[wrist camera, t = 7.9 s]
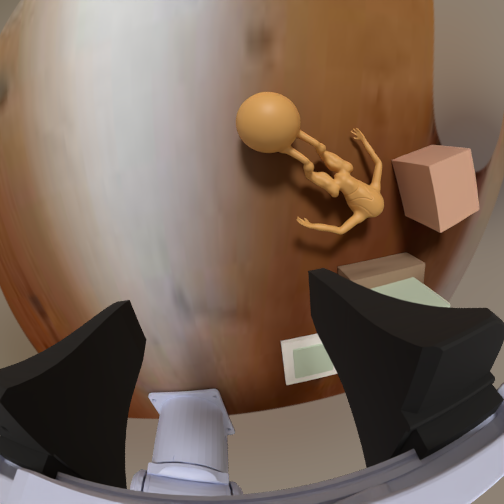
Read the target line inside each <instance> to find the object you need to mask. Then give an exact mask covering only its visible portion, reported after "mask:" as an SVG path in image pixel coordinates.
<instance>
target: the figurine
mask: <svg viewBox="0 0 504 504" xmlns="http://www.w3.org/2000/svg"><path fill="white" fill-rule="evenodd" d="M236 128H237V131H238V134H239V136H240V138H241V139H242V141H243V142H244V143H245V144H246V145H247V146H249V147H250V148H252V149H254V150H256V151H259V152H263V153H274V152H280V153H286V154H288V155H290V156H292V157H294V158H295V159H297V160H299V161H300V162H302V163H304V166H303V169H304V173H305V176H306V178H307V179H308V180H310V181H312V182H313V183H314V184H316V185H318V186H320V187H322V188H323V189H325V190H326V191H327V192H328V193H329V194H330V195H331V196H332V197H337V196H338V195H339V190H340V191H341V192H342V193H343V194H344V197H345V199H346V202H347V204H348V206H349V207H350V209H351V210H352V211H353V213H354V214H353V216H352V217H350V218H349V219H348V220H347V221H346V222H345V223H344V224H343V225H342V226H341V227H336V226H330V225H326V224H311V223H309V221H308V220H307V219H306V218H304V219H305V221H304V220H302V219H300V218H299V217H297V218H298V219H299V220H298V219H297V221H298V222H299V223H300V224H301V225H303V226H305V227H308V228H311V229H316V230H320V231H328V232H333V233H336V234H344V233H346V232H347V231H349V230H350V229H351V228H353V227H354V226H355V225H356V224H358V223H361V222H362V221H364V220H365V219H366V218H368V217H376V216H378V215H379V214H380V213H381V212H382V211H383V208H384V201H383V198H382V196H381V194H380V189H381V187H380V180H381V174H382V162H381V160H380V159H379V158H378V156H377V155H376V154H375V152H374V150H373V149H372V147H371V146H370V144H369V143H368V142H367V140H366V139H365V137H364V135H363V134H362V133H361V132H360V131H359V130H358V129H357V128H356V129H357V130H358V131H356V130H355V129H353V130H354V131H355V132H356V133H354V132H352V131H351V132H352V133H353V134H354V135H356V136H357V138H354V139H356V140H361V141H362V142H363V145H364V147H365V149H366V150H367V152H368V153H369V155H370V156H371V158H372V160H373V162H374V163H375V169H374V173H373V177H372V182H371V184H370V185H367V184H365V183H363V182H361V181H359V180H357V179H355V178H354V177H352V176H351V175H350V173H351V172H352V171H353V166H352V165H351V164H350V163H349V162H347V161H344V160H343V159H341V158H340V157H338V156H337V155H335V154H334V153H331V152H328V151H326V147H325V145H324V144H322V143H319V142H318V141H317V140H315V139H314V138H312V137H311V136H309V135H307V134H306V133H304V132H303V131H301V130H300V116H299V113H298V110H297V108H296V107H295V105H294V104H293V103H292V102H291V101H290V100H289V99H288V98H286V97H285V96H283V95H281V94H278V93H274V92H262V93H258V94H255V95H253V96H251V97H249V98H248V99H247V100H246V101H245V102H244V103H243V104H242V105H241V107H240V108H239V110H238V113H237V117H236ZM296 138H299V139H301V140H303V141H305V142H307V143H309V144H310V145H312V146H315V147H316V152H317V153H318V155H319V157H320V158H321V159H322V160H323V161H324V163H325V165H326V166H327V168H328V169H329V170H331V171H333V172H337V173H336V174H335V175H334V179H332V178H331V177H330V176H329V175H328V174H327V173H325V172H313V170H314V165H313V163H312V162H310V161H309V159H308V158H306V157H305V156H304V155H302V154H301V153H299V152H298V151H297V150H295V149H294V148H292V147H291V144H292V143H293V142H294V140H295V139H296Z"/></svg>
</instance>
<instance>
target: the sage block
mask: <svg viewBox="0 0 504 504" xmlns="http://www.w3.org/2000/svg"><path fill="white" fill-rule="evenodd" d="M371 290H374V291H376V292H379V293H382V294H384V295H387V296H391V297H394V298H398V299H401V300H405V301H409V302H413V303H419V304H424V305H430V306H437V307H448V308H450V303H449V302H447V301H446V300H445V299H443V298H442V297H441V296H439V295H438V294H437V293H435V292H434V291H432V290H431V289H430V288H428V287H427V286H426V285H424V284H423V283H421V282H420V281H419V280H417V279H416V278H414V277H412V278H408V279H405V280H401V281H398V282H394V283H390V284H387V285H383V286H379V287H375V288H372V289H371Z"/></svg>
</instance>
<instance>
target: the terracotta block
mask: <svg viewBox="0 0 504 504" xmlns="http://www.w3.org/2000/svg"><path fill="white" fill-rule="evenodd" d="M391 161H392V165H393V168H394V172H395V175H396V179H397V183H398V187H399V191H400V195H401V199H402V204H403V208H404V213H405V216H407V217H409V218H411V219H413V220H415V221H417V222H419V223H422V224H424V225H426V226H428V227H430V228H432V229H434V230H436V231H438V232H440V233H441V232H443V231H445V230H446V229H448V228H450V227H451V226H453V225H455V224H457V223H458V222H460V221H462V220H463V219H465V218H466V217H468V216H470V215H471V214H473V213H475V212H476V211H478V210H479V202H478V193H477V185H476V178H475V171H474V166H473V160H472V155H471V150H470V149H468V148H460V147H450V146H440V145H430V146H428V147H425V148H422V149H420V150H417V151H414V152H412V153H409V154H406V155H404V156H401V157H398V158H396V159H393V160H391Z"/></svg>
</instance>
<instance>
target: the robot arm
mask: <svg viewBox="0 0 504 504" xmlns="http://www.w3.org/2000/svg"><path fill="white" fill-rule="evenodd" d="M308 273H309V288H310V305H311V316H312V319H313V322H314V325H315V328H316V331H317V334H318V336H319V338H320V340H321V342H322V344H323V346H324V348H325V350H326V352H327V354H328V356H329V358H330V360H331V362H332V364H333V366H334V367H335V369H336V371H337V373H338V375H339V378H340V380H341V382H342V384H343V387H344V390H345V393H346V396H347V399H348V402H349V405H350V408H351V411H352V413H353V417H354V420H355V424H356V427H357V431H358V434H359V438H360V442H361V445H362V449H363V453H364V458H365V462H366V467H367V468H365V469H363V470H359V471H357V472H353V473H351V474H347V475H344V476H340V477H337V478H333V479H330V480H326V481H322V482H318V483H313V484H309V485H304V486H300V487H294V488H288V489H283V490H277V491H269V492H262V493H252V494H243V491H242V489H241V488H240V487H239V486H238V485H237V483H235V482H230V481H229V474H228V444H227V435H232V434H235V430H234V428H233V425H232V423H231V420H230V418H229V416H228V413H227V411H226V408H225V406H224V403H223V401H222V398H221V396H220V393H219V391H218V390H217V389H206V390H195V391H180V392H159V393H149V396H148V397H149V399H150V400H151V402H152V404H153V405H154V407H155V408H156V410H157V411H158V413H159V414H160V417H159V422H158V428H157V433H156V439H155V445H154V451H153V457H152V463H148V470H143V469H141V470H139V471H138V472H137V473H135V474H134V476H133V479H132V482H131V487H130V490H128V489H127V486H126V474H125V439H126V427H127V419H128V412H129V407H130V402H131V399H132V395H133V392H134V388H135V385H136V382H137V378H138V375H139V372H140V368H141V365H142V362H143V357H144V351H145V344H146V338H145V336H144V334H143V331H142V329H141V327H140V324H139V322H138V320H137V317H136V315H135V312H134V310H133V307H132V305H131V302H130V300H127V301H119V302H116V303H114V304H112V305H110V306H109V307H107V308H106V309H104V310H103V311H101V312H100V313H99V314H97V315H96V316H95V317H93V318H92V319H91V320H89V321H88V322H87V323H85V324H84V325H83V326H81V327H80V328H78V329H77V330H76V331H74V332H73V333H71V334H70V335H69V336H67V337H66V338H64V339H63V340H61V341H60V342H58V343H57V344H55V345H53V346H51V347H50V348H48V349H46V350H45V351H43V352H41V353H39V354H37V355H35V356H32V357H30V358H28V359H26V360H24V361H22V362H19V363H17V364H14V365H11V366H8V367H5V368H2V369H0V504H470V503H472V502H473V501H474V500H475V499H477V498H478V497H479V496H480V495H482V494H483V493H484V492H486V491H487V490H488V489H489V488H490V487H491V486H493V485H494V484H495V483H496V482H497V481H498V480H500V479H501V478H502V477H503V476H504V383H502V384H501V386H500V387H499V388H498V389H497V390H496V389H495V387H494V386H493V385H492V384H493V383H494V381H495V377H494V376H493V375H492V373H491V372H490V370H491V368H492V366H493V364H494V361H495V359H496V357H497V355H498V353H499V351H500V349H501V346H502V344H503V341H504V322H503V321H502V320H501V319H500V318H498V317H497V316H496V315H495V314H494V313H493V312H491V311H490V310H489V309H488V308H448V307H437V306H430V305H424V304H419V303H413V302H409V301H405V300H401V299H398V298H394V297H391V296H387V295H384V294H382V293H379V292H376V291H374V290H371V289H369V288H366V287H364V286H362V285H359V284H357V283H355V282H353V281H351V280H348V279H346V278H344V277H342V276H340V275H338V274H336V273H334V272H332V271H330V270H327V269H325V268H321V269H316V270H311V271H308Z"/></svg>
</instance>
